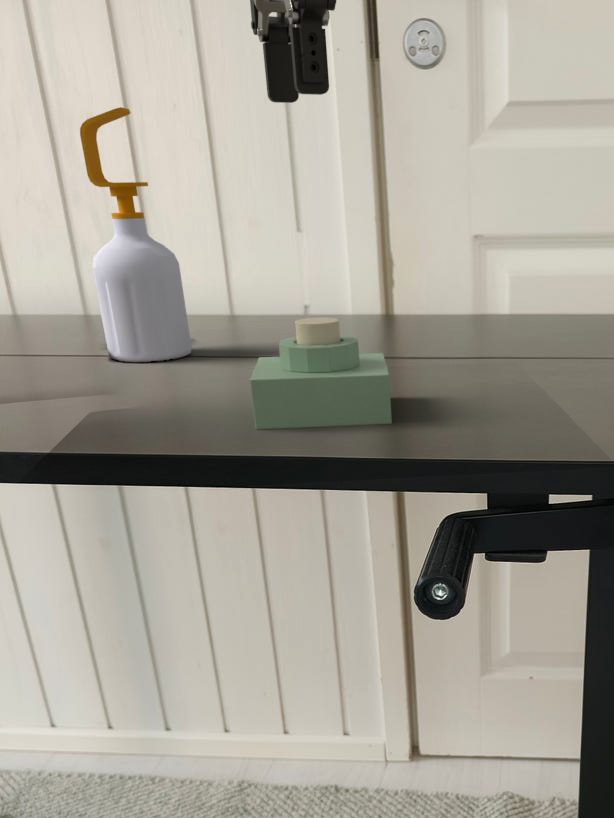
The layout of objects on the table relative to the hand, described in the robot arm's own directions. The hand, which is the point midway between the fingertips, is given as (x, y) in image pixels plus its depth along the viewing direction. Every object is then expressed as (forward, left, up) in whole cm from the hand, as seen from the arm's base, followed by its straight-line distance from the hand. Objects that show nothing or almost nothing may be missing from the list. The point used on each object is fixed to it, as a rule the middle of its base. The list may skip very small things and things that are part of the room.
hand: (297, 98), depth 65 cm
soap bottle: (-10, +40, -23) cm, 47 cm away
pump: (+1, +4, -18) cm, 18 cm away
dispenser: (+1, +4, -23) cm, 24 cm away
